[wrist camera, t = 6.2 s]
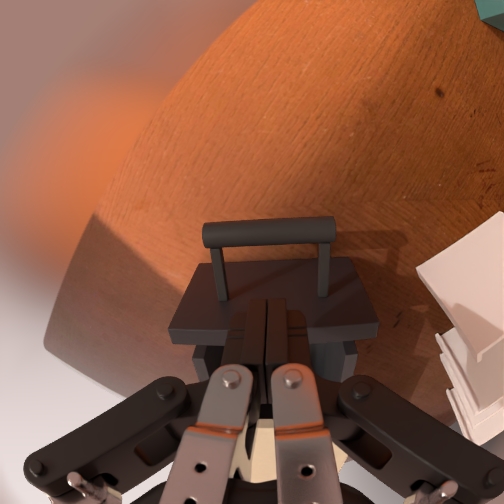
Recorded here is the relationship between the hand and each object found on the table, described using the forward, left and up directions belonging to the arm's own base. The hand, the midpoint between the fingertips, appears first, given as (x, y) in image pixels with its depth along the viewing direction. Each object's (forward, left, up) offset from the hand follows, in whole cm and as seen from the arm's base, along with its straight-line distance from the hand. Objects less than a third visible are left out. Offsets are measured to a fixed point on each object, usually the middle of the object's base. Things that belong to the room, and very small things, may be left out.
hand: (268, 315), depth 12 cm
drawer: (+6, -3, -10) cm, 12 cm away
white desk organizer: (+20, +17, -11) cm, 29 cm away
